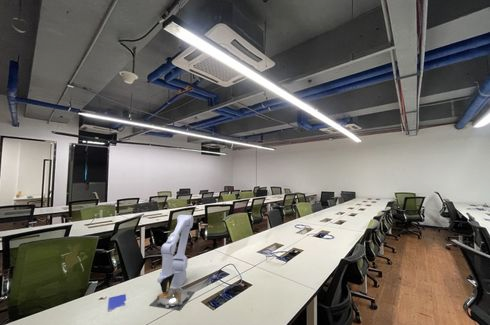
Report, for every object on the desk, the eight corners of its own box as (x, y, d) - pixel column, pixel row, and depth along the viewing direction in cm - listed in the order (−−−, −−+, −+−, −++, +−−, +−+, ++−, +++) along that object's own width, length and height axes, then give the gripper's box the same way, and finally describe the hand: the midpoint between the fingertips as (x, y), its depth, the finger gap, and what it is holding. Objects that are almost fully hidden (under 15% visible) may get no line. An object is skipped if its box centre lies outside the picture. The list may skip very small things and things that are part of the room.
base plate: (167, 289, 122) (168, 288, 123) (195, 293, 119) (195, 292, 119) (148, 307, 105) (148, 305, 105) (179, 312, 101) (180, 310, 101)
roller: (164, 290, 115) (165, 279, 116) (169, 291, 115) (170, 280, 115) (161, 293, 112) (162, 282, 113) (166, 294, 111) (167, 283, 112)
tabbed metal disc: (151, 297, 112) (152, 287, 113) (181, 286, 124) (181, 277, 125) (164, 312, 100) (164, 301, 100) (195, 298, 112) (196, 288, 112)
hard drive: (126, 305, 105) (125, 293, 116) (107, 309, 101) (108, 297, 111) (126, 308, 105) (125, 296, 115) (107, 313, 101) (108, 300, 111)
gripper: (168, 259, 123) (166, 282, 121) (153, 269, 108) (151, 296, 107) (178, 260, 121) (177, 284, 120) (164, 270, 107) (163, 297, 106)
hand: (165, 289), depth 113 cm, fingers closed on roller, 3 cm apart
